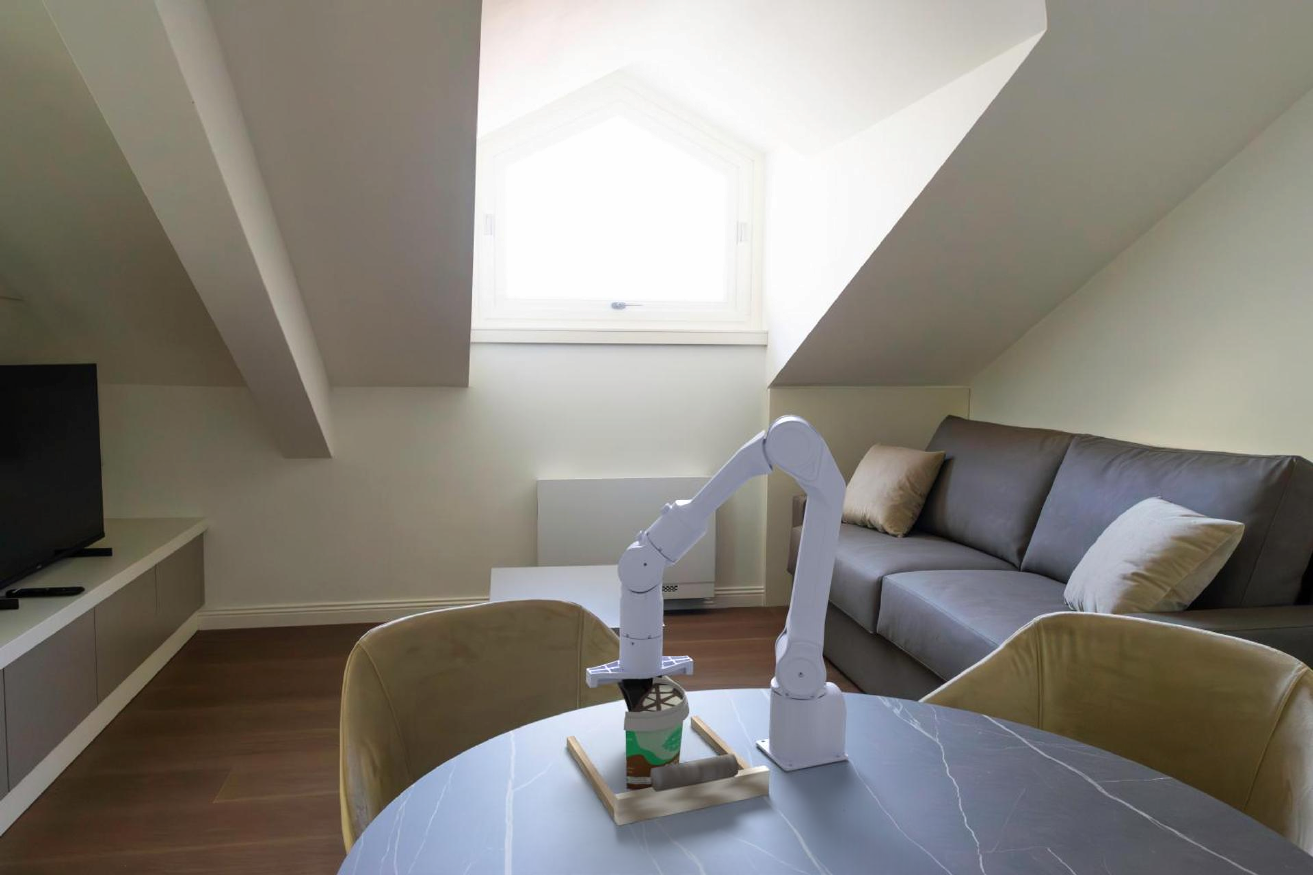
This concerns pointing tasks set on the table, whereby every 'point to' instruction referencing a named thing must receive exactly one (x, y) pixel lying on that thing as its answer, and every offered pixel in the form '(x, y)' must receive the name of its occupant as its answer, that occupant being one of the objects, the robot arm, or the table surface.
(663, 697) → the food container
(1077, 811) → the table surface
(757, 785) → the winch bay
